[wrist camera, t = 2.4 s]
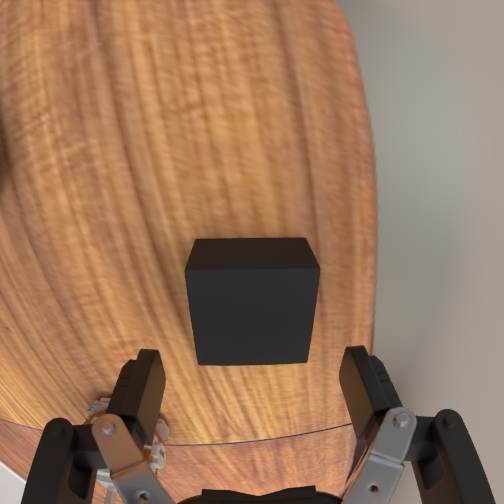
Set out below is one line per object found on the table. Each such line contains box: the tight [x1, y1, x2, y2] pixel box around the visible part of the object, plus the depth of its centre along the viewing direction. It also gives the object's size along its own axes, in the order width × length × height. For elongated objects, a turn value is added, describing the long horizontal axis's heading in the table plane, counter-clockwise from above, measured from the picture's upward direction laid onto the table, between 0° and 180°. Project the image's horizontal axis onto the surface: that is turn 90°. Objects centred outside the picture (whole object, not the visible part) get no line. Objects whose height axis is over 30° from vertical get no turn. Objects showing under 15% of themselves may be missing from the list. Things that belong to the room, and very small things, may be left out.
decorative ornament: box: [84, 398, 170, 504], centre depth 17 cm, size 8×8×15 cm
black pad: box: [185, 238, 320, 366], centre depth 16 cm, size 6×6×4 cm
